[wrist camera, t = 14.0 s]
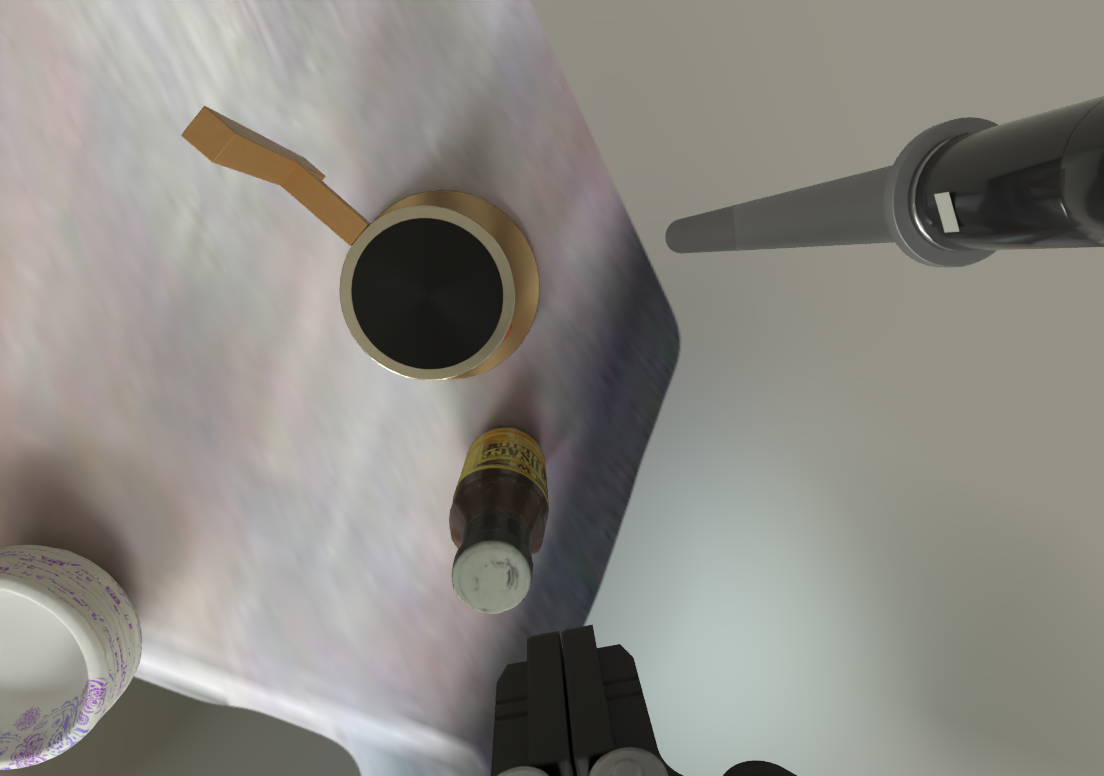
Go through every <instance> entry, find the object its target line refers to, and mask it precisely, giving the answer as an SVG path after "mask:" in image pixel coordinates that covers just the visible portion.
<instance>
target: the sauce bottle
mask: <svg viewBox="0 0 1104 776" xmlns="http://www.w3.org/2000/svg"><path fill="white" fill-rule="evenodd" d="M548 513H549V502H548V490H547V480H546V469H545V458H544V455H543V453H542V451H541V448H540V447H539V445H538V444H537V443H536V441H535V440H534V439H533V437H532V436H531V435H529V434H527V432H525V431H524V430H522V429H519V428H514V427H507V426H506V427H502V426H500V427H495V428H493V429H491V430H489V431H487V432H485V433H484V434H482V435H481V436H480V437H479V438H478V439H477V440H476V441H475V442H474V443H473V444H472V446H471V447H470V449H469V451H468V454H467V457H466V460H465V463H464V466H463V469H462V472H461V475H460V478H459V481H458V484H457V487H456V490H455V493H454V497H453V503H452V507H451V509H450V517H449V523H450V526H449V527H450V532H451V537H452V541H453V542H454V544H455V545H456V546H457V548H458V551H457V553H456V555H455V559H454V563H453V569H452V583H453V588H454V590H455V591H456V593H457V596H458V597H459V598H460V599H461V601H462V602H463V603H464V604H465V605H467V606H468V607H470V608H472V609H475V610H477V611H480V612H482V613H488V614H495V613H501V612H503V611H507V610H509V609H511V608H513V607H515V606H517V605H518V604H519V603H520V602H521V601H522V600H523V599H524V597H525V596H526V595H527V593H528V591H529V588H530V586H531V582H532V573H533V562H532V557H531V555H532V554H535V553H537V552H538V551H539V550H540V548H541V545H542V541H543V537H544V532H545V527H546V523H547V518H548Z"/></svg>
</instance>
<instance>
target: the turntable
mask: <svg viewBox="0 0 1104 776" xmlns="http://www.w3.org/2000/svg"><path fill="white" fill-rule="evenodd" d="M418 205H432V206H439V207H445V208H448V209H451V210H455V211H457V212H459V213H462V214H464V215H466V216H468V217H469V218H471V219H473V220H474V221H476V222H477V223H479V224H480V225H481V226H482V227H484V228H485V229H486V230H487V231H488V232H489V233H490V234H491V235H492V236H493V237H494V239H495V240H496V241H497V243H498V244H499V245H500V247H501V248H502V250H503V252H504V254H505V255H506V257H507V260H508V262H509V265H510V267H511V270H512V274H513V278H514V284H515V308H514V314H513V318H512V321H511V324H512V330H513V331H512V332H511V333H510V334H509V335H508V337H507V338H506V339H505V340H504V341H503V342H502V343H501V344H500V346H499V347H498V348H497V349H496V351H495V352H494V353H493V354H492V355H491V356H490V357H489V358H488V359H487V360H486V361H485V362H484V363H483V365H479V366H478V367H476V368H475V369H473V370H471V371H469V372H467V373H465V374H462V375H460V376H457V377H453V378H449V379H461V378H466V377H471V376H475V375H478V374H480V373H483V372H486V371H488V370H490V369H492V368H493V367H495V366H497V365H498V364H500V363H501V362H503V361H504V360H505V359H507V358H508V357H509V356H510V355H511V354H512V353H513V352H514V351H515V350H516V349H517V348H518V346H519V345H520V344H521V343H522V342H523V340H524V338H525V337H526V335H527V334H528V332H529V330H530V328H531V325H532V323H533V321H534V318H535V315H536V311H537V307H538V301H539V287H540V285H539V274H538V269H537V264H536V260H535V258H534V255H533V252H532V249H531V247H530V245H529V244H528V242H527V240H526V238H525V236H524V235H523V233H522V232H521V231H520V229H519V228H518V227H517V225H516V224H515V223H514V222H513V221H512V220H511V219H510V218H509V217H508V216H507V215H506V214H504V213H503V212H502V211H501V210H500V209H498V208H497V207H495V206H494V205H492V204H491V203H489V202H487V201H485V200H483V199H480V198H478V197H475V196H472V195H469V194H466V193H461V192H456V191H443V190H440V191H428V192H424V193H419V194H415V195H413V196H410V197H407V198H404V199H403V200H401V201H399V202H397V203H395V204H393V205H392V206H391V207H389V208H388V209H386V210H385V211H384V212H383V213H382V214H381V215H379V216H378V217H377V218H376V219H375V220H377V219H378V218H380V217H382V216H384V215H385V214H387V213H390V212H392V211H395V210H397V209H401V208H405V207H409V206H418ZM375 220H374V221H375Z"/></svg>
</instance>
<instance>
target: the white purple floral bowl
mask: <svg viewBox="0 0 1104 776" xmlns="http://www.w3.org/2000/svg"><path fill="white" fill-rule="evenodd" d="M141 643H142V634H141V628H140V623H139V619H138V616H137V613H136V610H135V608H134V606H133V604H132V602H131V601H130V599H129V597H128V596H127V594H126V593H125V592H124V590H123V589H122V588H121V587H120V586H119V585H118V583H117V582H116V581H115V580H114V579H113V578H112V577H111V576H110V575H109V574H108V573H107V572H106V571H104V570H103V569H102V568H100V567H99V566H98V565H96V564H95V563H93V562H91V561H90V560H89V559H87V558H84V557H82V556H79V555H77V554H75V553H72V552H70V551H67V550H63V549H58V548H51V547H46V546H40V545H21V546H16V545H12V546H6V547H1V548H0V770H5V769H16V768H23V767H28V766H31V765H35V764H38V763H41V762H44V761H46V760H49V759H51V758H53V757H55V756H57V755H59V754H61V753H63V752H64V751H66V750H68V749H69V748H71V747H72V746H73V745H74V744H76V743H77V742H78V741H79V740H81V739H82V738H83V737H84V736H85V735H86V734H87V733H88V732H89V731H90V730H91V729H92V728H93V727H94V726H95V724H96V723H97V722H98V721H99V719H100V718H101V717H102V716H103V715H104V714H105V713H106V712H107V711H108V710H109V708H111V706H112V705H113V704H114V703H115V701H117V699H118V698H119V697H120V696H121V694H122V693H123V692H124V691H125V689H126V688H127V686H128V685H129V683H130V682H131V680H132V678H133V676H134V674H135V672H136V670H137V668H138V665H139V663H140V659H141V651H142V647H141Z"/></svg>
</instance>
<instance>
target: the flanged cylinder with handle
mask: <svg viewBox="0 0 1104 776" xmlns="http://www.w3.org/2000/svg"><path fill="white" fill-rule="evenodd" d="M181 136H182V137H183V138H184V139H186V140H187V141H188V142H189V143H190V144H191V145H193V146H194V147H195V148H196V149H197V150H198V151H200V152H201V153H202V154H203V155H204V156H206V157H207V158H208V159H209V160H210V161H211V162H213V163H216V164H219V165H222V166H225V167H228V168H230V169H233V170H236V171H239V172H242V173H245V174H248V175H251V176H254V177H257V178H260V179H263V180H265V181H268V182H271V183H274V184H277V185H280V186H281V187H283V188H284V189H285V190H286V191H287V192H288V193H290V194H291V195H292V196H293V197H294V198H295V199H297V200H298V201H299V202H300V203H301V204H302V205H303V206H305V207H306V208H307V209H308V210H309V211H310V212H312V213H313V214H314V215H315V216H316V217H317V218H318V219H320V220H321V221H322V222H323V223H324V224H325V225H327V226H328V227H329V228H330V229H331V230H332V231H334V232H335V233H336V234H337V235H338V236H339V237H340V238H342V239H343V240H344V241H345V242H346V243H347V244H349V245H351V248H350V250H349V252H348V254H347V256H346V259H345V262H344V264H343V268H342V272H341V277H340V302H341V307H342V312H343V315H344V318H345V321H346V324H347V326H348V328H349V330H350V332H351V334H352V336H353V337H354V339H355V340H356V342H357V343H358V345H359V346H360V347H361V348H362V349H363V351H364V352H365V353H366V354H367V355H368V356H370V357H371V358H372V359H373V360H374V361H375V362H377V363H378V364H380V365H381V366H382V367H384V368H386V369H388V370H390V371H391V372H394V373H396V374H399V375H401V376H404V377H408V378H412V379H418V380H444V379H449V378H453V377H457V376H460V375H462V374H465V373H467V372H469V371H471V370H473V369H475V368H476V367H478V366H479V365H483V363H484V362H485V361H486V360H487V359H488V358H489V357H490V356H491V355H492V354H493V353H494V352H495V351H496V349H497V348H498V347H499V346H500V344H501V343H502V342H503V341H504V340H505V339H506V338H507V337H508V335H509V334H510V333H511V332H512V331H513V330H512V324H511V321H512V318H513V314H514V308H515V284H514V278H513V274H512V270H511V267H510V265H509V262H508V260H507V257H506V255H505V254H504V252H503V250H502V248H501V247H500V245H499V244H498V243H497V241H496V240H495V239H494V237H493V236H492V235H491V234H490V233H489V232H488V231H487V230H486V229H485V228H484V227H482V226H481V225H480V224H479V223H477V222H476V221H474V220H473V219H471V218H469V217H468V216H466V215H464V214H462V213H459V212H457V211H455V210H451V209H448V208H445V207H439V206H432V205H418V206H409V207H405V208H401V209H397V210H395V211H392V212H390V213H387V214H385V215H384V216H382V217H380V218H378V219H377V220H375V221H374V222H373V223H372V224H370V223H369V222H368V221H367V220H366V219H365V218H364V217H363V216H361V215H360V214H359V213H358V212H357V211H356V210H355V209H353V208H352V207H351V206H350V205H349V204H348V203H347V202H345V201H344V200H343V199H342V198H341V197H340V196H339V195H338V194H336V193H335V192H334V191H333V190H332V189H331V188H330V187H328V186H327V185H326V184H325V183H324V182H323V181H322V180H323V179H324V177H325V175H324V174H322V173H321V172H320V171H319V170H318V169H317V168H316V167H315V166H313V165H312V164H311V163H310V162H309V161H308V160H307V159H305V158H304V157H302V156H300V155H298V154H296V153H294V152H292V151H290V150H288V149H286V148H285V147H283V146H281V145H279V144H277V143H275V142H273V141H271V140H269V139H267V138H265V137H263V136H261V135H260V134H258V133H256V132H254V131H252V130H250V129H248V128H246V127H244V126H242V125H240V124H238V123H237V122H235V121H233V120H231V119H229V118H227V117H225V116H223V115H221V114H219V113H217V112H215V111H214V110H212V109H210V108H208V107H206V106H204V107H203V108H202V109H201V111H200V112H199V113H198V114H197V116H196V117H195V118H194V120H193V121H192V122H191V123H190V125H189V126H188V127H187V128H186V130H185V131H184V132H183V134H182V135H181Z"/></svg>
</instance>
